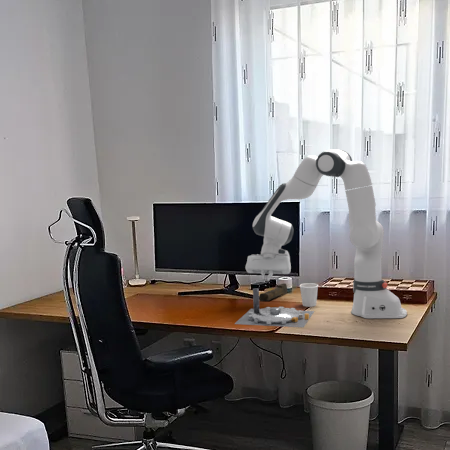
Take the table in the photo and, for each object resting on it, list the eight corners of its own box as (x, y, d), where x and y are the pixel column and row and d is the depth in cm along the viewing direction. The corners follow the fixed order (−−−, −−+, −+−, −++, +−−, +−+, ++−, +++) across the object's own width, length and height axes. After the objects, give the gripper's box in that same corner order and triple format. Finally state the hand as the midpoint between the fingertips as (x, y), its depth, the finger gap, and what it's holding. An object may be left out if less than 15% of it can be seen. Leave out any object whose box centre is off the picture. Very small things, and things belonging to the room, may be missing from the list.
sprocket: (307, 311, 247) (307, 284, 246) (297, 325, 226) (296, 296, 225) (256, 309, 254) (255, 283, 253) (241, 323, 233) (240, 294, 232)
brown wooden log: (267, 303, 269) (267, 291, 269) (259, 302, 272) (258, 290, 272) (292, 294, 287) (292, 283, 287) (284, 293, 290) (284, 282, 290)
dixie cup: (317, 304, 263) (316, 282, 262) (320, 309, 255) (319, 286, 254) (298, 305, 263) (298, 283, 262) (301, 309, 255) (300, 287, 254)
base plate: (314, 313, 248) (314, 306, 247) (303, 329, 224) (303, 322, 224) (251, 310, 256) (250, 304, 256) (234, 326, 233) (233, 319, 232)
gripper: (246, 250, 265) (241, 275, 257) (291, 251, 258) (286, 277, 250) (249, 258, 269) (244, 283, 261) (293, 259, 263) (289, 285, 255)
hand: (265, 280), depth 256 cm, fingers closed
